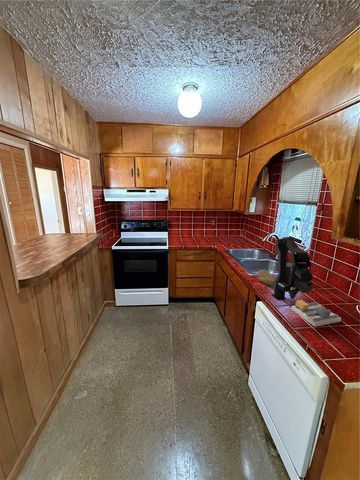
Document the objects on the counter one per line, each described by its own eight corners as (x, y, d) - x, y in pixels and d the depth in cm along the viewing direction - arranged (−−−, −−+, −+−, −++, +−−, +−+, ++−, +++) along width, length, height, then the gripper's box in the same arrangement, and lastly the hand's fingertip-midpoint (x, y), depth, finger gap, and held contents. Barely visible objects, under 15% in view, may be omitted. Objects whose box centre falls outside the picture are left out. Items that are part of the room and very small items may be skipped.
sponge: (255, 276, 164) (256, 282, 145) (258, 268, 163) (260, 272, 144) (272, 282, 160) (275, 288, 141) (275, 273, 159) (279, 278, 140)
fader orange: (295, 306, 117) (296, 300, 116) (300, 305, 118) (301, 299, 117) (302, 311, 112) (303, 305, 111) (307, 310, 113) (308, 304, 112)
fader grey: (315, 313, 111) (316, 307, 110) (320, 312, 112) (322, 306, 111) (323, 319, 106) (324, 312, 105) (329, 318, 107) (330, 311, 106)
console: (291, 308, 119) (291, 304, 118) (314, 305, 123) (315, 300, 122) (314, 326, 104) (315, 321, 103) (340, 321, 108) (342, 316, 107)
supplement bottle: (287, 278, 159) (290, 264, 156) (292, 282, 152) (295, 268, 149) (279, 278, 159) (281, 264, 156) (284, 282, 152) (286, 268, 149)
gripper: (294, 282, 97) (289, 309, 101) (323, 278, 102) (317, 304, 106) (278, 273, 108) (274, 298, 112) (305, 270, 112) (301, 294, 116)
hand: (292, 298), depth 111 cm, fingers closed
